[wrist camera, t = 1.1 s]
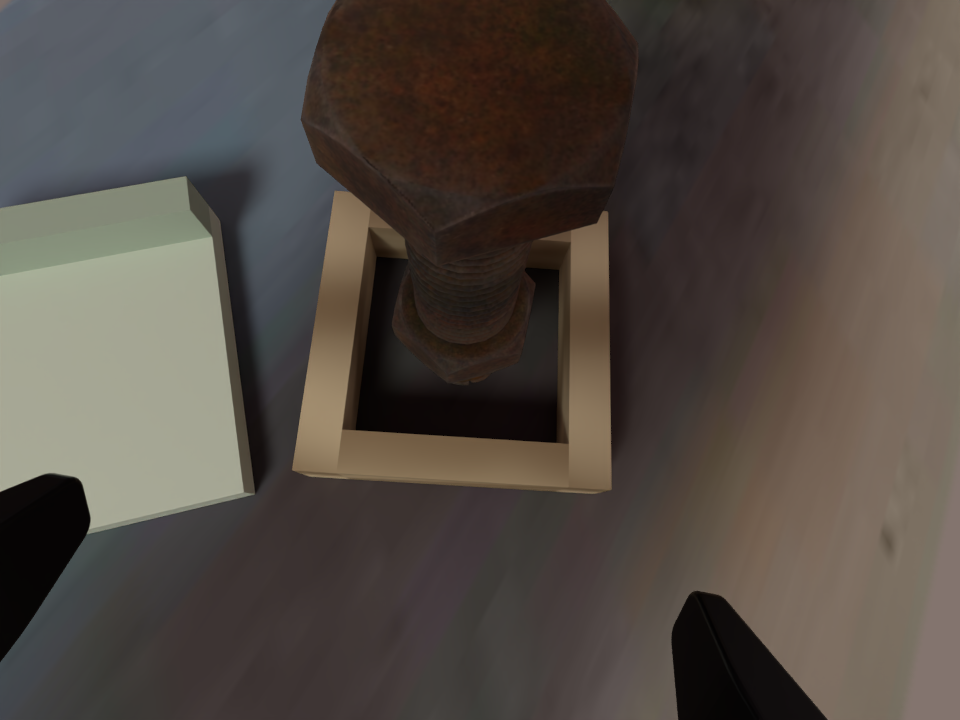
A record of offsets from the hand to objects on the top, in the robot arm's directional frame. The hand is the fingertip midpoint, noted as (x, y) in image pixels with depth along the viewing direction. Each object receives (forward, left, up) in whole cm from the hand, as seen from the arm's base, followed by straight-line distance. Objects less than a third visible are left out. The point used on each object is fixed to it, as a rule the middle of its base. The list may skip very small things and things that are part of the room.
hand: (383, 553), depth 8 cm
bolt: (+7, -1, -13) cm, 15 cm away
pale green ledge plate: (+5, +13, -13) cm, 19 cm away
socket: (+7, -1, -13) cm, 15 cm away
